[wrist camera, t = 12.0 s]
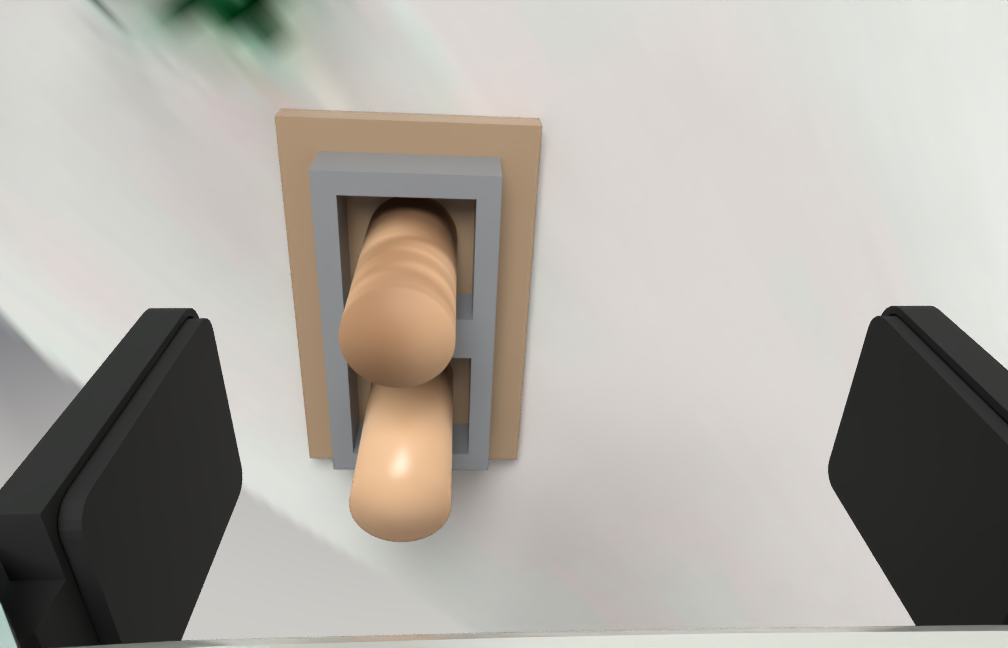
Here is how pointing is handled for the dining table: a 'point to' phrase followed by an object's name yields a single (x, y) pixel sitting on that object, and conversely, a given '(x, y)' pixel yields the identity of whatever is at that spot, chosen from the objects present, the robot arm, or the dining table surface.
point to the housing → (479, 299)
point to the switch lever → (403, 295)
